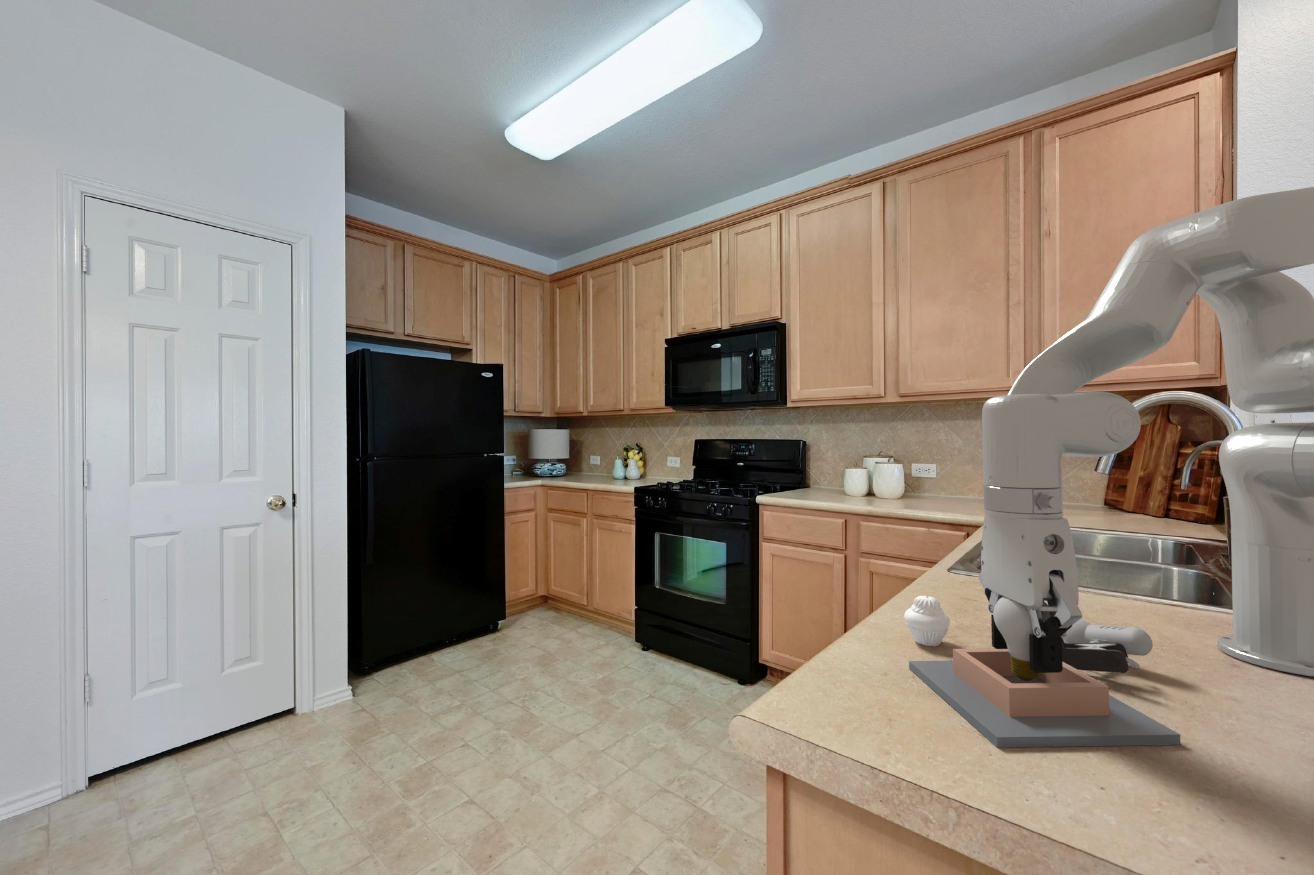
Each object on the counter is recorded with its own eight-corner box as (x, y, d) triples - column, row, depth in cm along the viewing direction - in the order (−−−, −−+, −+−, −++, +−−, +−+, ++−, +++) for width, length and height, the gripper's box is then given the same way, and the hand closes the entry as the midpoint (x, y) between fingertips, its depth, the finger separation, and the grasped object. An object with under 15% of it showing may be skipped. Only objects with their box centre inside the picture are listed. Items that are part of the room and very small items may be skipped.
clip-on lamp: (977, 667, 77) (1129, 688, 62) (965, 623, 78) (1111, 632, 63) (1019, 643, 83) (1168, 657, 68) (1007, 602, 84) (1150, 606, 69)
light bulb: (1060, 696, 57) (1057, 603, 57) (994, 684, 60) (993, 595, 60) (1054, 675, 62) (1052, 589, 62) (994, 665, 65) (992, 583, 65)
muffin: (960, 646, 77) (960, 598, 77) (930, 653, 75) (929, 603, 75) (924, 632, 83) (923, 587, 83) (895, 638, 81) (894, 592, 81)
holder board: (1045, 666, 70) (1044, 636, 70) (1180, 744, 52) (1179, 703, 52) (909, 668, 70) (908, 638, 70) (997, 747, 52) (996, 706, 52)
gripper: (1119, 511, 53) (1123, 694, 52) (1005, 494, 70) (1008, 631, 70) (1044, 512, 53) (1048, 695, 52) (948, 494, 70) (950, 632, 70)
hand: (1025, 657), depth 61 cm, fingers closed on light bulb, 5 cm apart
